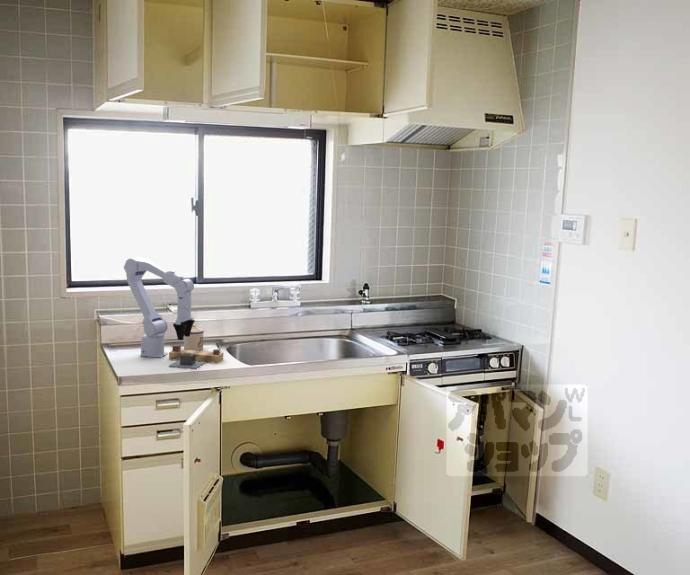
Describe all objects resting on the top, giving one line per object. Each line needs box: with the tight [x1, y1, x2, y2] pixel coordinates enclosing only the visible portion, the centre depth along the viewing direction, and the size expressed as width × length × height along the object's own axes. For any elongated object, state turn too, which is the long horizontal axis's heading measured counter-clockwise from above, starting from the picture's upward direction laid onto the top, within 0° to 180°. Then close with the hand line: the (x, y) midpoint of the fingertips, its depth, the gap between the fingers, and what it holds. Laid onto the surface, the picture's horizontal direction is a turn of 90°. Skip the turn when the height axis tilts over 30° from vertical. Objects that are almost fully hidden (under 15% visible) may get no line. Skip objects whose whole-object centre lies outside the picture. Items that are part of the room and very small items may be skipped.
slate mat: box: [168, 360, 206, 370], centre depth 302 cm, size 12×10×1 cm
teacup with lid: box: [183, 323, 205, 351], centre depth 331 cm, size 12×9×12 cm
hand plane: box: [168, 344, 224, 364], centre depth 312 cm, size 22×7×5 cm, turn 82°
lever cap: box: [180, 352, 195, 366], centre depth 301 cm, size 5×4×5 cm
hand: (183, 338), depth 310 cm, fingers open, 7 cm apart
